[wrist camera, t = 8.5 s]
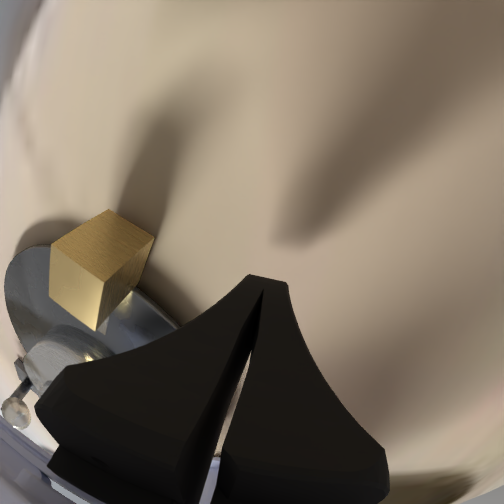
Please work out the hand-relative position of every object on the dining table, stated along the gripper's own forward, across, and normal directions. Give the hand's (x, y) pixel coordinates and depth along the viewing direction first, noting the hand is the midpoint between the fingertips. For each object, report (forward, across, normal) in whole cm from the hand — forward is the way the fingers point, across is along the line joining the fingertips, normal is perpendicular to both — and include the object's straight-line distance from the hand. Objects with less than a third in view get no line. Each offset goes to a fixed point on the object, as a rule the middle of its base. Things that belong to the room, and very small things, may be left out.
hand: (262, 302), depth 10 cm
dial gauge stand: (+2, +23, +20) cm, 30 cm away
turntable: (+1, +9, +9) cm, 13 cm away
